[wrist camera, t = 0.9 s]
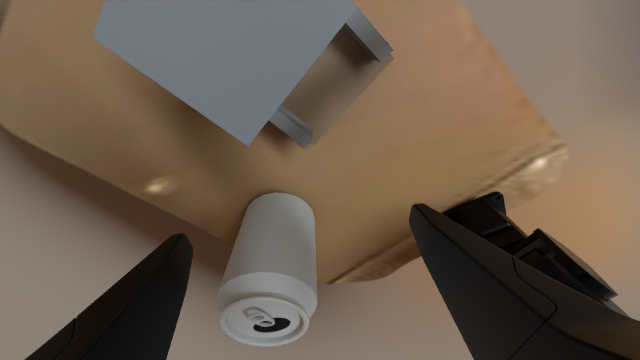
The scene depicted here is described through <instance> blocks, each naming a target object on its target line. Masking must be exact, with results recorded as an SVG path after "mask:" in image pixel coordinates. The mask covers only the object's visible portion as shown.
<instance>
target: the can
mask: <svg viewBox="0 0 640 360" xmlns="http://www.w3.org/2000/svg"><path fill="white" fill-rule="evenodd" d="M216 302H217V307H218V309H219V311H220V312H221V314H220V317H219V324H220V328H221V329H222V330H223V331H224V332H225V334H226V335H227V336H229V337H230V338H232V339H234V340H235V341H238V342H241V343H244V344H247V345H253V346H277V345H284V344H286V343H289V342H293V341H294V340H296V339H298V338H299V337H301V336H302V335H303V334H304V333H305V332H306V330H307V329H308V325H309V318H310V317H311V316H312V314H313V313H314V312H315V310H316V305H317V276H316V245H315V218H314V215H313V211H312V209H311V208H310V207H309V205H308V204H307V203H306V202H305V201H303V200H302V199H300V198H299V197H297V196H294V195H291V194H288V193H276V192H274V193H269V194H264V195H262V196H260V197H258V198H256V199H254V200H253V202H252V203H251V204H250V205H249V206H248V208H247V210H246V213H245V216H244V219H243V222H242V224H241V227H240V230H239V233H238V236H237V239H236V242H235V245H234V248H233V250H232V254H231V256H230V259H229V262H228V265H227V268H226V271H225V273H224V277H223V279H222V282H221V285H220V288H219V291H218V294H217V297H216Z"/></svg>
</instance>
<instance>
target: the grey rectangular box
mask: <svg viewBox="0 0 640 360" xmlns="http://www.w3.org/2000/svg"><path fill="white" fill-rule="evenodd" d="M355 10H356V7H355V6H354V4H353V3H352V2H351V1H350V0H105V2H104V4H103V7H102V10H101V13H100V16H99V18H98V21H97V24H96V27H95V29H94V32H93V35H92V38H94V39H95V40H96V41H98V42H99V43H101V44H102V45H104V46H105V47H106V48H108V49H109V50H111V51H112V52H114V53H115V54H116V55H118V56H119V57H121V58H122V59H124V60H125V61H126V62H128V63H129V64H131V65H132V66H134V67H135V68H136V69H138V70H139V71H141V72H142V73H144V74H145V75H146V76H148V77H149V78H151V79H152V80H154V81H155V82H156V83H158V84H159V85H161V86H162V87H164V88H165V89H166V90H168V91H169V92H171V93H172V94H174V95H175V96H176V97H178V98H179V99H181V100H182V101H184V102H185V103H186V104H188V105H189V106H191V107H192V108H194V109H195V110H196V111H198V112H199V113H201V114H202V115H204V116H205V117H206V118H208V119H209V120H211V121H212V122H214V123H215V124H216V125H218V126H219V127H221V128H222V129H224V130H225V131H226V132H228V133H229V134H231V135H232V136H234V137H235V138H236V139H238V140H239V141H241V142H242V143H244V144H245V145H246V146H249V144H250V143H251V142H252V140H253V139H254V138H255V137H256V135H257V134H258V133H259V132H260V130H261V129H262V128H263V127H264V125H265V124H266V123H267V121H268V120H269V119H270V118H271V116H272V115H273V114H274V113H275V111H276V110H277V109H278V107H279V106H280V105H281V104H282V102H283V101H284V100H285V99H286V97H287V96H288V95H289V94H290V92H291V91H292V90H293V88H294V87H295V86H296V85H297V83H298V82H299V81H300V80H301V78H302V77H303V76H304V74H305V73H306V72H307V71H308V69H309V68H310V67H311V66H312V64H313V63H314V62H315V60H316V59H317V58H318V57H319V55H320V54H321V53H322V52H323V50H324V49H325V48H326V47H327V45H328V44H329V43H330V41H331V40H332V39H333V38H334V36H335V35H336V34H337V33H338V31H339V30H340V29H341V27H342V26H343V25H344V24H345V22H346V21H347V20H348V19H349V17H350V16H351V15H352V14H353V12H354V11H355Z"/></svg>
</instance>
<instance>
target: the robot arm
mask: <svg viewBox="0 0 640 360" xmlns="http://www.w3.org/2000/svg"><path fill="white" fill-rule="evenodd" d="M446 216H447V217H446ZM409 223H410V226H411V229H412V232H413V234H414V237H415V240H416V242H417V245H418V248H419V250H420V253H421V255H422V258H423V260H424V262H425V264H426V266H427V268H428V270H429V272H430V274H431V276H432V278H433V280H434V282H435V284H436V286H437V288H438V290H439V292H440V294H441V296H442V298H443V299H444V302H445V303H446V305H447V307H448V309H449V311H450V313H451V315H452V317H453V319H454V321H455V323H456V325H457V327H458V329H459V331H460V333H461V335H462V337H463V339H464V341H465V343H466V345H467V347H468V349H469V351H470V353H471V354H472V357H473V359H474V360H640V321H638V320H635V319H632V318H630V317H629V316H628V315H627V314H626V313H625V312H624V311H623V310H621V309H620V308H619V307H618V306H617V305H616V304H615V303H613V302H612V301H611V300H610V299H611V298H613V297H615V296H617V295H618V294H617V293H616V292H615V291H614V290H613V289H612V288H611V287H610V286H609V285H608V284H607V283H606V282H605V281H604V280H603V279H602V278H601V277H600V276H599V275H598V274H597V273H596V272H595V271H594V270H593V269H592V268H591V267H590V266H589V265H588V264H587V263H585V262H584V261H583V260H582V259H580V258H579V257H578V256H576V255H575V254H574V253H573V252H572V251H570V250H569V249H568V248H567V247H566V246H564V245H563V244H561V243H560V242H558V241H557V240H555V239H554V238H553V237H551V236H550V235H548V234H547V233H545V232H544V231H542V230H541V229H539V228H538V229H536V230H535V231H533V232H534V233H532V234H531V235H530V236H527V235H526V234H525V233H524V232H523V231H522V230H521V229H520V228H519V227H518V226H517V225H516V224H515V223H514V222H513V221H511V219H509V218H508V217H507V216H506V210H505V204H504V198H503V195H502V194H501V193H500V192H495V193H492V194H490V195H487V196H485V197H482V198H480V199H477V200H475V201H472V202H470V203H467V204H465V205H462V206H460V207H457V208H455V209H452V210H450V211H447V212H445V213H443V214H441V213H439V212H437V211H436V210H434V209H432V208H430V207H429V206H427V205H425V204H423V203H419V204H414V205H412V208H411V212H410V217H409ZM192 257H193V247H192V245H191V243H190V241H189V239H188V238H187V236H186V234H184V233H181V234H174V235H172V236H170V237H169V238H168V239H167V240H165V241H164V242H163V243H162V244H161V245H160V246H158V247H157V248H156V249H155V250H154V251H153V252H151V253H150V254H149V255H148V256H147V257H146V258H144V259H143V260H142V261H141V262H140V263H139V264H137V265H136V266H135V267H134V268H133V269H132V270H130V271H129V272H128V273H127V274H126V275H125V276H123V277H122V278H121V279H120V280H119V281H118V282H116V283H115V284H114V285H113V286H112V287H111V288H109V289H108V290H107V291H106V292H105V293H104V294H103V295H101V296H100V297H99V298H98V299H97V300H95V301H94V302H93V303H92V304H91V305H89V306H88V307H87V308H86V309H85V310H84V311H82V312H81V313H80V314H79V315H78V316H77V318H74V319H73V320H72V321H71V322H70V323H68V324H67V325H66V326H65V327H64V328H62V329H61V330H60V331H59V332H58V333H57V334H56V335H54V336H53V337H52V338H51V339H49V340H48V341H47V342H46V343H45V344H43V345H42V346H41V347H40V348H38V349H37V350H36V351H35V352H33V353H32V354H31V355H30V356H28V357H27V358H26V359H25V360H166V358H167V355H168V351H169V348H170V345H171V341H172V338H173V334H174V331H175V328H176V324H177V321H178V318H179V314H180V311H181V307H182V304H183V301H184V297H185V293H186V290H187V285H188V279H189V274H190V268H191V263H192Z"/></svg>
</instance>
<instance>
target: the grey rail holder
mask: <svg viewBox="0 0 640 360" xmlns="http://www.w3.org/2000/svg"><path fill="white" fill-rule="evenodd" d="M350 1H351V2H352V0H350ZM352 3H353V2H352ZM353 4H354V3H353ZM354 6H355V7H356V10H355V11H354V12H353V14H352V15H351V16H350V17H349V19H348V20H347V21H346V22H345V24H344V25H343V26H342V27H341V29H340V30H339V31H338V33H337V34H336V35H335V36H334V38H333V39H332V40H331V41H330V43H329V44H328V45H327V47H326V48H325V49H324V50H323V52H322V53H321V54H320V55H319V57H318V58H317V59H316V60H315V62H314V63H313V64H312V66H311V67H310V68H309V69H308V71H307V72H306V73H305V74H304V76H303V77H302V78H301V80H300V81H299V82H298V83H297V85H296V86H295V87H294V88H293V90H292V91H291V92H290V94H289V95H288V96H287V97H286V99H285V100H284V101H283V102H282V104H281V105H280V106H279V107H278V109H277V110H276V111H275V113H274V114H273V115H272V116H271V118H270V119H269V121H270V122H272V123H273V124H274V125H276V126H277V127H278V128H279V129H281V130H282V131H283V132H285V133H286V134H287V135H288V136H290V137H291V138H292V139H294V140H295V141H296V142H297V143H299V144H300V145H301V146H303V147H305V146H306V145H307V144H308V143H309V142H310V143H311V144H313V145H314V144H315V143H316V142H317V141H318V140H319V139H320V138H321V136H322V135H323V134H324V133H325V132H326V131H327V130H328V129H329V128H330V127H331V126H332V125H333V124H334V122H335V121H336V120H337V119H338V118H339V117H340V116H341V115H342V114H343V113H344V112H345V111H346V110H347V108H348V107H349V106H350V105H351V104H352V103H353V102H354V101H355V100H356V99H357V98H358V97H359V96H360V94H361V93H362V92H363V91H364V90H365V89H366V88H367V87H368V86H369V85H370V84H371V83H372V82H373V80H374V79H375V78H376V77H377V76H378V75H379V74H380V73H381V72H382V71H383V70H384V69H385V68H386V66H387V65H388V64H389V63H390V62H391V61H392V60H393V59H394V58H393V57H392V56H391V54H390V53H391V52H392V51H393V49H392V48H391V47H390V45H389V44H388V43H387V42H386V41H385V39H384V38H383V37H382V36H381V35H380V34H379V32H378V31H377V30H376V29H375V28H374V26H373V25H372V24H371V23H370V22H369V21H368V19H367V18H366V17H365V16H364V15H363V13H362V12H361V11H360V10H359V9H358V8H357V6H356V5H355V4H354Z"/></svg>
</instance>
